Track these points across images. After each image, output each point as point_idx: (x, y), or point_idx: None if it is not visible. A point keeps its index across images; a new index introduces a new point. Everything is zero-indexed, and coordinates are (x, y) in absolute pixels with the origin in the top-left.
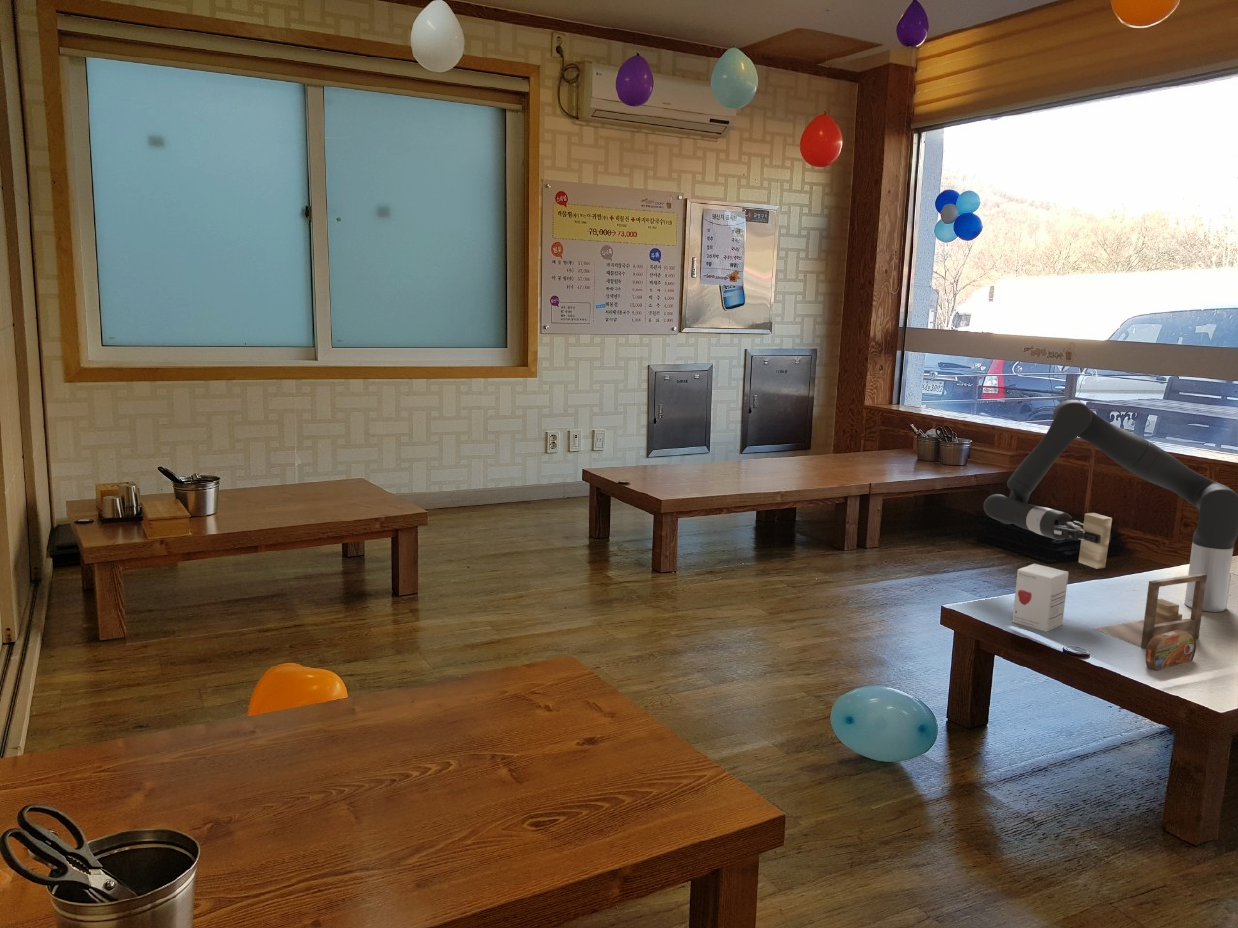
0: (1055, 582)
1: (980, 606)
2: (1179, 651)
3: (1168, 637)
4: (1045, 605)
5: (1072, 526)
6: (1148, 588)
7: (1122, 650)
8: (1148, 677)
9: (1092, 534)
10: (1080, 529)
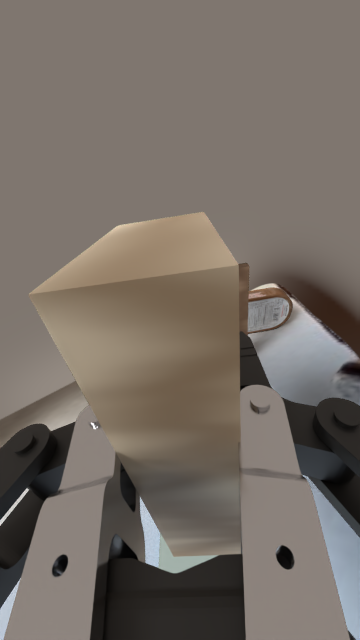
0: None
1: None
2: None
3: (266, 288)
4: None
5: (342, 623)
6: (248, 278)
7: (270, 373)
8: (291, 319)
9: None
10: (265, 453)
